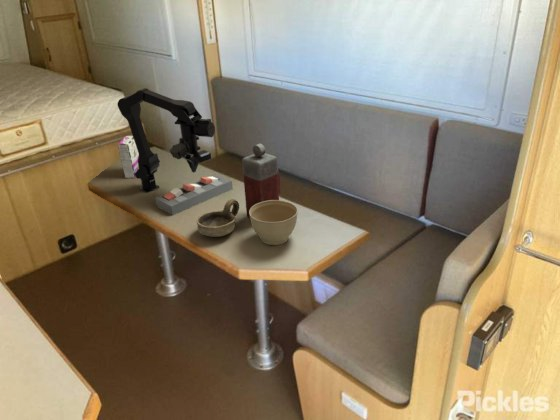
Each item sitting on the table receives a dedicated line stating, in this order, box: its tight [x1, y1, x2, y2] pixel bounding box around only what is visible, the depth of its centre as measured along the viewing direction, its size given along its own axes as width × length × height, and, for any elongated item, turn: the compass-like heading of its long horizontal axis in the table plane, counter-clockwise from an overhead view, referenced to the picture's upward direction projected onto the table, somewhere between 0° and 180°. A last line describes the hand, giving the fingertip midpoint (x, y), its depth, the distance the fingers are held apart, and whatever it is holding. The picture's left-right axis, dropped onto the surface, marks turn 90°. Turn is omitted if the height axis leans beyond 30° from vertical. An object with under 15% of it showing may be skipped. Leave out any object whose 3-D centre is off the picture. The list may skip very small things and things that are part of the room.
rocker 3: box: [199, 176, 218, 184], centre depth 198 cm, size 4×6×2 cm, turn 136°
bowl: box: [196, 198, 240, 238], centre depth 166 cm, size 14×18×10 cm
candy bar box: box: [117, 135, 139, 179], centre depth 214 cm, size 11×5×16 cm, turn 179°
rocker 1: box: [163, 186, 183, 201], centre depth 187 cm, size 4×6×2 cm, turn 136°
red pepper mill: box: [241, 143, 282, 218], centre depth 171 cm, size 9×11×28 cm
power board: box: [155, 173, 233, 216], centre depth 192 cm, size 11×30×4 cm, turn 136°
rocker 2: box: [181, 183, 201, 191], centre depth 192 cm, size 4×6×2 cm, turn 136°
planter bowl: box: [249, 199, 299, 246], centre depth 160 cm, size 16×16×11 cm
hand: (194, 172), depth 191 cm, fingers closed
